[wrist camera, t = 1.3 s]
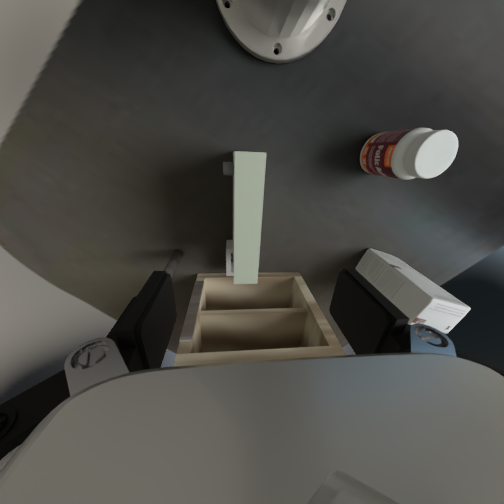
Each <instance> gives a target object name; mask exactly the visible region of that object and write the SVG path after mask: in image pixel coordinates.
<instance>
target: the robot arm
mask: <svg viewBox="0 0 504 504" xmlns="http://www.w3.org/2000/svg"><path fill="white" fill-rule="evenodd" d="M346 1H347V0H216V3H217V6H218V9H219V12H220V14H221V16H222V18H223V20H224V23H225V25H226V26H227V28H228V30H229V31H230V33H231V34H232V36H233V37H234V39H235V40H236V41H237V42H238V43H239V44H240V45H241V46H242V47H243V48H244V49H245V50H246V51H247V52H249V53H250V54H252V55H253V56H254V57H256V58H259V59H261V60H263V61H266V62H271V63H277V64H280V63H290V62H292V61H295V60H298V59H301V58H302V57H304V56H306V55H307V54H309V53H310V52H312V51H313V50H314V49H315V48H316V47H317V46H318V45H319V44H320V43H321V42H322V41H323V40H324V39H325V37H326V36H327V35H328V34H329V33H330V31H331V30H332V28H333V27H334V25H335V24H336V22H337V20H338V19H339V17H340V14H341V12H342V10H343V8H344V6H345V3H346ZM226 4H228V5H229V6H230V8H225V5H226ZM327 17H328V18H329V20H328V19H327ZM274 50H277V51H278V55H276V54H274ZM330 314H331V315H332V317H333V319H334V320H335V322H336V323H337V325H338V327H339V328H340V330H341V331H342V333H343V334H344V336H345V338H346V339H347V341H348V342H349V344H350V346H351V347H352V349H353V350H354V352H355V353H356V355H341V356H323V357H306V358H289V359H273V360H257V361H242V362H227V363H212V364H198V365H186V366H174V367H164V368H160V367H161V364H162V360H163V358H164V355H165V352H166V349H167V346H168V343H169V340H170V337H171V334H172V330H173V327H174V324H175V321H176V315H177V314H176V307H175V300H174V294H173V287H172V280H171V275H170V274H167V272H166V271H154V272H153V273H152V274H151V276H150V277H149V279H148V281H147V282H146V284H145V285H144V287H143V288H142V290H141V291H140V293H139V294H138V296H137V297H134V298H133V299H132V300H131V302H130V303H129V304H128V306H127V307H126V309H125V310H124V312H123V313H122V315H121V316H120V318H119V319H118V321H117V322H116V324H115V325H114V327H113V328H112V329H111V331H110V332H109V334H108V335H107V337H106V338H97V339H93V340H90V341H88V342H86V343H84V344H82V345H80V346H79V347H78V348H76V349H75V350H74V351H73V352H72V353H71V354H70V355H69V356H68V357H67V359H66V361H65V366H64V367H65V369H64V370H63V371H60V372H59V373H57V374H55V375H53V376H52V377H50V378H48V379H46V380H44V381H43V382H41V383H39V384H37V385H35V386H33V387H32V388H30V389H28V390H26V391H24V392H23V393H21V394H19V395H17V396H16V397H14V398H12V399H10V400H8V401H6V402H5V403H3V404H1V405H0V504H504V371H502V370H500V369H498V368H496V367H493V366H491V365H489V364H486V363H484V362H482V361H479V360H477V359H475V358H472V357H470V356H468V355H465V354H463V353H461V352H458V351H456V350H455V349H454V345H453V343H452V341H451V340H450V339H449V338H448V337H447V336H446V335H445V334H444V333H442V332H441V331H439V330H437V329H436V328H433V327H431V326H428V325H425V324H419V323H417V324H413V325H411V326H410V325H409V324H408V321H409V318H408V317H407V316H406V315H405V314H404V313H403V312H402V311H401V310H400V309H398V308H397V307H396V306H395V305H394V304H393V303H392V302H391V301H390V300H389V299H387V298H386V297H385V296H384V295H383V294H382V293H381V292H380V291H379V290H378V289H376V288H375V287H374V286H373V285H372V284H371V283H370V282H369V281H368V280H367V279H365V278H364V277H363V276H362V275H361V274H360V273H359V272H358V271H357V270H356V269H343V270H342V271H340V272H339V275H338V279H337V283H336V286H335V290H334V294H333V298H332V301H331V305H330Z"/></svg>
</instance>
